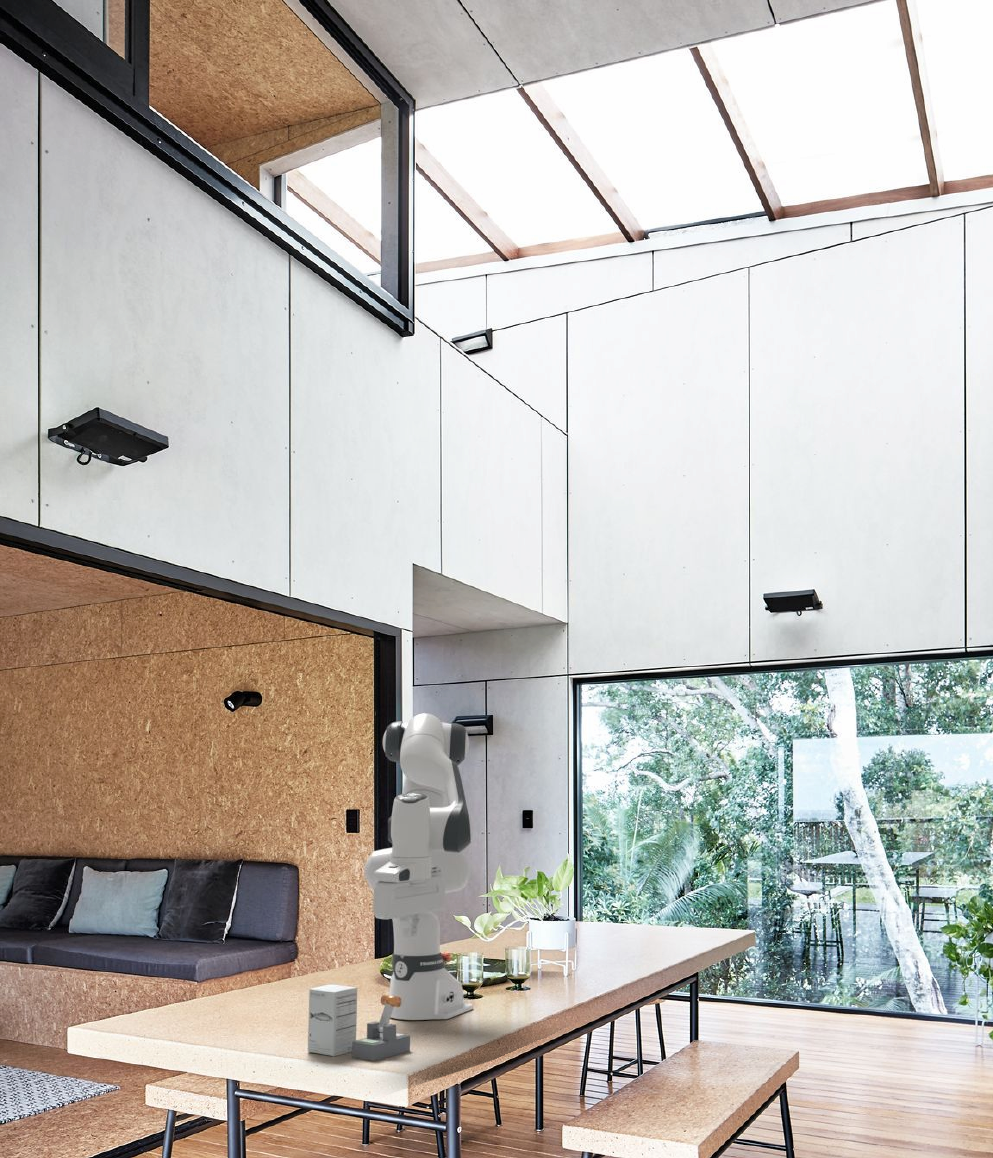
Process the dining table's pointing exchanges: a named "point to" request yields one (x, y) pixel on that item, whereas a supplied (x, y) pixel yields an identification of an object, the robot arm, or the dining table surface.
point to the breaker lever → (387, 1010)
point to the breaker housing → (380, 1043)
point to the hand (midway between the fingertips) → (410, 936)
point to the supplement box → (332, 1019)
